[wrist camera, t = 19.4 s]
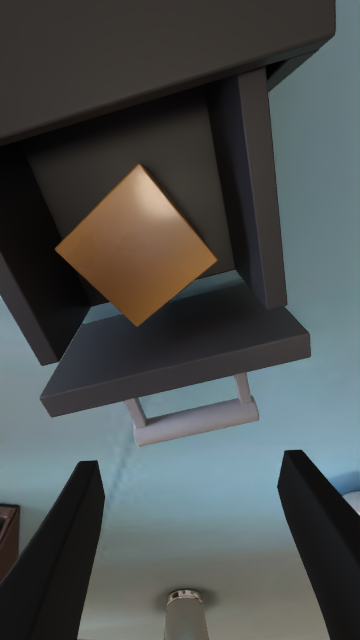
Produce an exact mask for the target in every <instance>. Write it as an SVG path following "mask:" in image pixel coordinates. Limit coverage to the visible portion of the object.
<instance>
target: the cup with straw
mask: <svg viewBox="0 0 360 640" xmlns="http://www.w3.org/2000/svg"><path fill="white" fill-rule="evenodd" d="M201 600H202V595H201V594H200V593H199V592H197V591H194V590H179V591H175V592H173V593H171V594H170V595H168V597H167V603H168V604H167V609H166V615H165V628H164V640H209V635H208V630H207V624H206V618H205V612H204V607H203V606H202V602H201Z"/></svg>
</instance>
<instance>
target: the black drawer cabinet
mask: <svg viewBox="0 0 360 640" xmlns="http://www.w3.org/2000/svg"><path fill="white" fill-rule="evenodd" d="M335 31H336V0H0V146H3V145H6V144H10V143H13V142H16V141H20V140H23V139H26V138H29V137H33V136H36V135H39V134H42V133H46V132H49V131H52V130H56V129H59V128H62V127H65V126H69V125H72V124H75V123H78V122H82V121H85V120H88V119H92V118H95V117H98V116H101V115H105V114H108V113H111V112H114V111H118V110H121V109H124V108H128V107H131V106H134V105H137V104H141V103H144V102H147V101H150V100H154V99H157V98H160V97H164V96H167V95H170V94H173V93H177V92H180V91H183V90H186V89H190V88H193V87H196V86H200V85H203V84H206V83H209V82H213V81H216V80H219V79H222V78H226V77H229V76H232V75H236V74H239V73H242V72H245V71H249V70H252V69H255V68H258V67H262V66H265V65H266V75H267V86H268V92H269V91H271V90H272V89H273V88H274V87H275V86H277V85H278V84H279V83H280V82H281V81H282V80H284V79H285V78H286V77H287V76H288V75H290V74H291V73H292V72H293V71H294V70H295V69H297V68H298V67H299V66H300V65H301V64H303V63H304V62H305V61H306V60H307V59H308V58H310V57H311V56H312V55H313V54H314V53H315V52H317V51H318V50H319V48H321V47H322V46H323V45H324V44H325V43H326V42H328V41H329V40H330V39H331V38H332V37H333V36H334V35H335Z"/></svg>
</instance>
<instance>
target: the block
mask: <svg viewBox="0 0 360 640" xmlns="http://www.w3.org/2000/svg"><path fill="white" fill-rule="evenodd" d="M55 251H56V252H57V253H58V254H60V255H61V256H62V257H63V258H64V259H65V260H66V261H67V262H68V263H69V264H70V265H71V266H72V267H73V268H74V269H76V270H77V271H78V272H79V273H80V274H81V275H82V276H83V277H84V278H85V279H86V280H87V281H88V282H89V283H90V284H92V285H93V286H94V287H95V288H96V289H97V290H98V291H99V292H100V293H101V294H102V295H103V296H104V297H105V298H106V299H108V300H109V301H110V302H111V303H112V304H113V305H114V306H115V307H116V308H117V309H118V310H119V311H120V312H121V313H122V314H124V315H125V316H126V317H127V318H128V319H129V320H130V321H131V322H132V323H133V324H134V325H135V326H139V325H140V324H141V323H143V322H144V321H145V320H146V319H148V318H149V317H150V316H151V315H152V314H154V313H155V312H156V311H157V310H159V309H160V308H161V307H162V306H163V305H165V304H166V303H167V302H168V301H169V300H171V299H172V298H173V297H174V296H176V295H177V294H178V293H179V292H180V291H182V290H183V289H184V288H185V287H186V286H188V285H189V284H190V283H191V282H193V281H194V280H195V279H196V278H197V277H199V276H200V275H201V274H202V273H203V272H205V271H206V270H207V269H208V268H210V267H211V266H212V265H213V264H214V263H216V262H217V261H218V259H217V257H216V256H215V254H214V253H213V251H212V250H211V248H210V247H209V245H208V244H207V242H206V241H205V239H204V238H203V237H202V235H201V234H200V233H199V232H198V230H197V229H196V228H195V227H194V225H193V224H192V223H191V222H190V220H189V219H188V218H187V217H186V215H185V214H184V213H183V212H182V210H181V209H180V208H179V207H178V205H177V204H176V203H175V202H174V200H173V199H172V198H171V197H170V195H169V194H168V193H167V192H166V191H165V189H164V188H163V187H162V186H161V184H160V183H159V182H158V181H157V179H156V178H155V177H154V176H153V174H152V173H151V172H150V171H149V169H148V168H147V167H145V166H144V165H142V164H141V163H137V164H136V166H135V167H134V168H133V169H132V170H131V171H130V172H129V173H128V174H127V175H126V176H125V177H124V178H123V179H122V180H121V181H120V182H119V183H118V184H117V185H116V186H115V187H114V188H113V189H112V190H111V191H110V192H109V193H108V194H107V195H106V196H105V197H104V198H103V199H102V200H101V201H100V202H99V203H98V204H97V205H96V206H95V208H94V209H93V210H92V211H91V212H90V213H89V214H88V215H87V216H86V217H85V218H84V219H83V220H82V221H81V222H80V223H79V224H78V225H77V226H76V227H75V228H74V229H73V230H72V231H71V232H70V233H69V234H68V235H67V236H66V237H65V238H64V239H63V240H62V241H61V242H60V243H59V244H58V245H57V246H56V247H55Z"/></svg>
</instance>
